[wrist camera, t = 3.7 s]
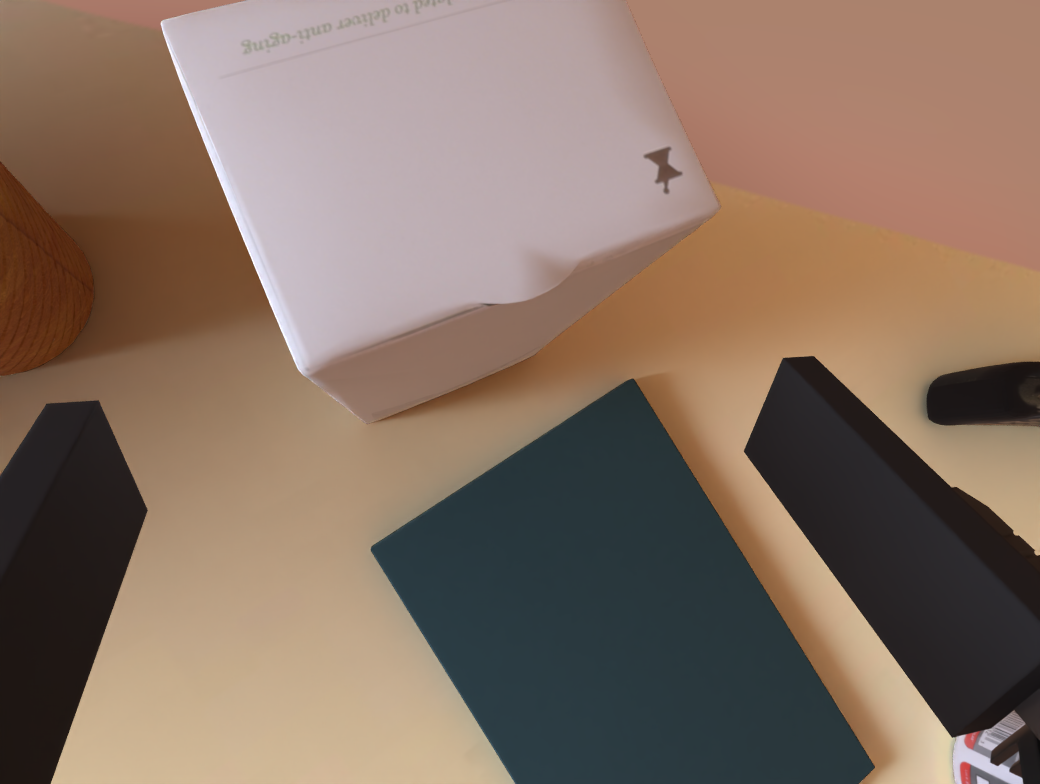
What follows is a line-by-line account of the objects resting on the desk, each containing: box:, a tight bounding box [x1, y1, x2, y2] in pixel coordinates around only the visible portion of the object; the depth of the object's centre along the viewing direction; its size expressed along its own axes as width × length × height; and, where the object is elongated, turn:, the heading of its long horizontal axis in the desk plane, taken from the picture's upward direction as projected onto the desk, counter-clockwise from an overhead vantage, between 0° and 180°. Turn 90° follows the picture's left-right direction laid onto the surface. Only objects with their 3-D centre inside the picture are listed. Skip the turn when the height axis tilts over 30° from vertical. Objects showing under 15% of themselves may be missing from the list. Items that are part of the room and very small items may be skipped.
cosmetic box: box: [161, 0, 721, 424], centre depth 18 cm, size 8×7×16 cm
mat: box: [371, 379, 875, 784], centre depth 25 cm, size 20×13×1 cm, turn 32°
